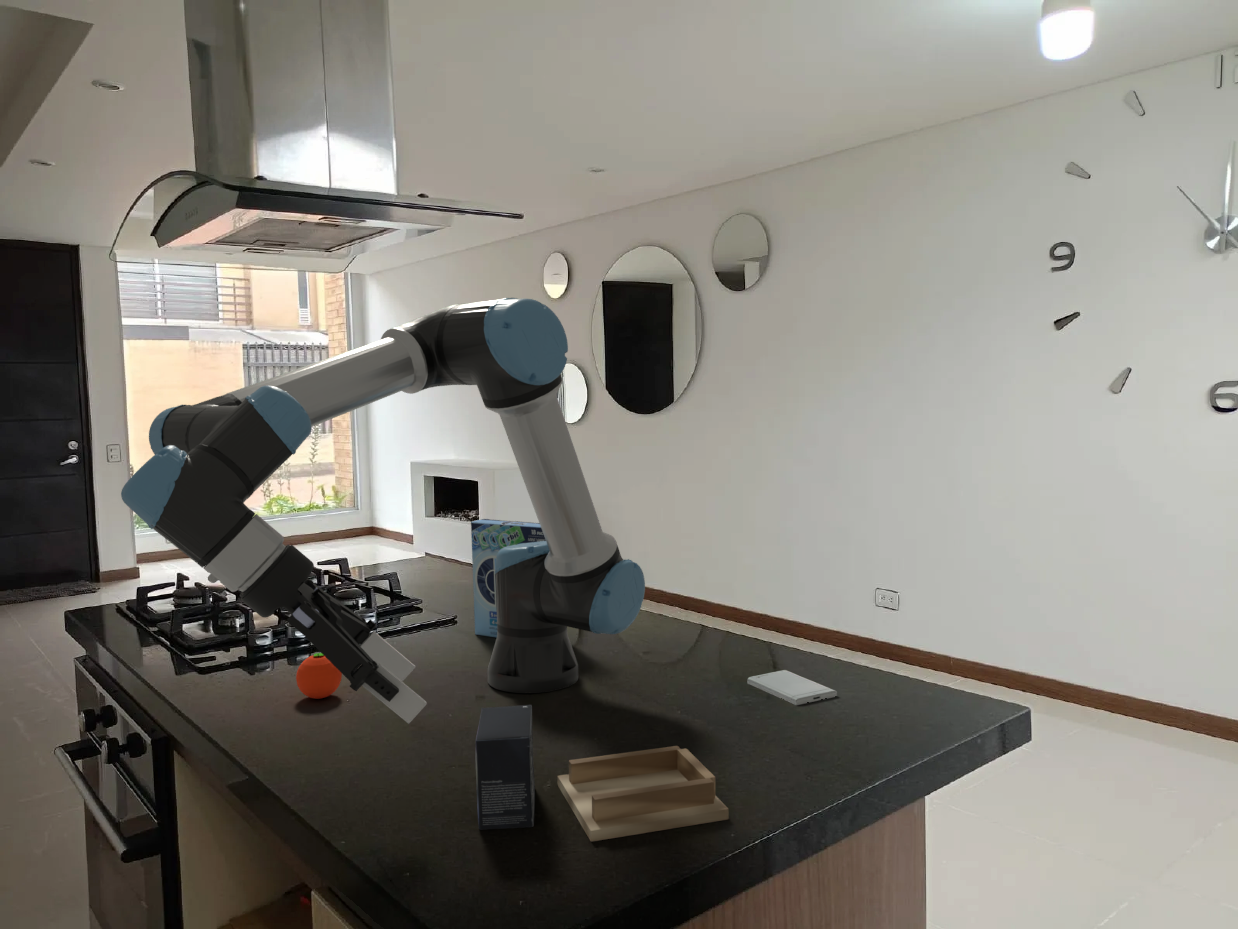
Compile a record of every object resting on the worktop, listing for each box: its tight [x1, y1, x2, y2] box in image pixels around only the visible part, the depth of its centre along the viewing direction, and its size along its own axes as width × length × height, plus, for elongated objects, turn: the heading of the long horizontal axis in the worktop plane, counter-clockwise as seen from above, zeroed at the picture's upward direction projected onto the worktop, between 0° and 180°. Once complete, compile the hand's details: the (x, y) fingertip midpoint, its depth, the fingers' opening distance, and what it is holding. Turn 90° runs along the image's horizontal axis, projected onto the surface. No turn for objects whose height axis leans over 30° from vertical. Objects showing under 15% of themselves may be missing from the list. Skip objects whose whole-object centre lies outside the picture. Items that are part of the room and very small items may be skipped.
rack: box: [557, 745, 730, 842], centre depth 108 cm, size 15×16×4 cm
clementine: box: [295, 652, 343, 700], centre depth 147 cm, size 8×7×7 cm
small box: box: [474, 704, 536, 831], centre depth 106 cm, size 11×6×10 cm, turn 5°
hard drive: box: [746, 669, 838, 706], centre depth 148 cm, size 2×8×12 cm
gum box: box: [470, 518, 546, 639], centre depth 180 cm, size 20×5×23 cm, turn 59°
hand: (412, 693), depth 102 cm, fingers open, 13 cm apart
